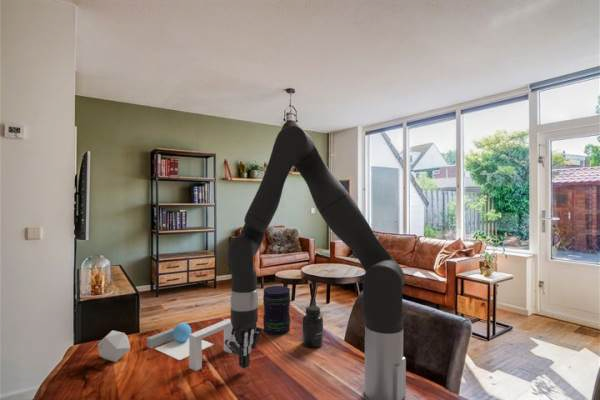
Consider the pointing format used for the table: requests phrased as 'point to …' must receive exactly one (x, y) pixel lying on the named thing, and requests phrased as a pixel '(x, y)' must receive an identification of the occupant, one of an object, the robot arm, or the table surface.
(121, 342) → the die
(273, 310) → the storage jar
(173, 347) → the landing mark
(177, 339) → the ball
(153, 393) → the table surface
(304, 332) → the supplement bottle
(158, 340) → the wall
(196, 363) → the bridge
